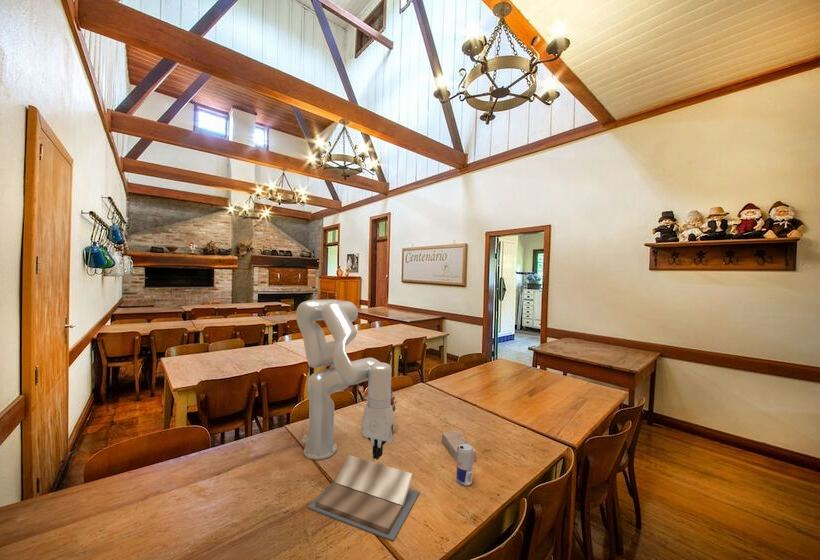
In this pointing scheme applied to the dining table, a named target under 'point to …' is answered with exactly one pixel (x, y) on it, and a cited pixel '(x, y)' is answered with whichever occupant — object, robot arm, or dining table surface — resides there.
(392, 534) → the underlay mat
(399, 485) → the loose plank
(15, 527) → the dining table surface
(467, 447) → the energy drink
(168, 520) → the dining table surface
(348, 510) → the laid plank
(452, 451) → the brick
